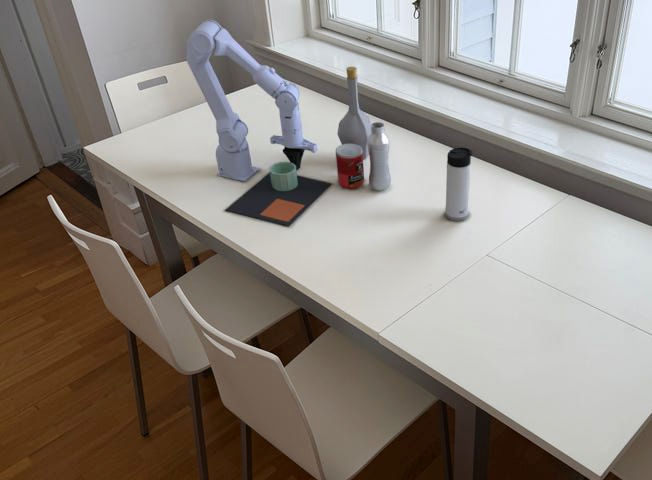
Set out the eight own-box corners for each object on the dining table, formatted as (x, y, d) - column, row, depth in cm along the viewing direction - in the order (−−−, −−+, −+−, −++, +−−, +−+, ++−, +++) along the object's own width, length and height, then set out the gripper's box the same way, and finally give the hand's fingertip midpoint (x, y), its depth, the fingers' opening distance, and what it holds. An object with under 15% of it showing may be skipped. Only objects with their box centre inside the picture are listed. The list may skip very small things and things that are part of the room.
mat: (225, 210, 184) (225, 209, 183) (272, 170, 201) (272, 169, 201) (288, 226, 178) (288, 225, 178) (331, 184, 196) (331, 183, 196)
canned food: (352, 192, 193) (349, 159, 186) (332, 183, 197) (329, 150, 190) (370, 182, 198) (368, 149, 191) (350, 173, 201) (348, 140, 195)
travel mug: (466, 222, 182) (470, 157, 170) (443, 219, 183) (445, 154, 171) (470, 210, 187) (474, 146, 175) (448, 207, 188) (450, 143, 176)
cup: (267, 188, 193) (264, 171, 189) (281, 176, 198) (278, 159, 195) (289, 193, 191) (287, 176, 188) (302, 181, 196) (300, 164, 193)
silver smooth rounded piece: (393, 182, 198) (391, 120, 186) (389, 194, 193) (387, 131, 180) (371, 180, 198) (368, 118, 186) (367, 192, 193) (363, 129, 181)
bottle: (334, 157, 209) (326, 64, 191) (368, 150, 213) (363, 59, 195) (345, 173, 201) (338, 78, 183) (380, 167, 205) (376, 73, 187)
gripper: (320, 125, 192) (324, 167, 200) (277, 117, 195) (282, 158, 204) (308, 136, 186) (313, 178, 195) (263, 126, 190) (270, 168, 198)
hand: (296, 168), depth 199 cm, fingers closed
